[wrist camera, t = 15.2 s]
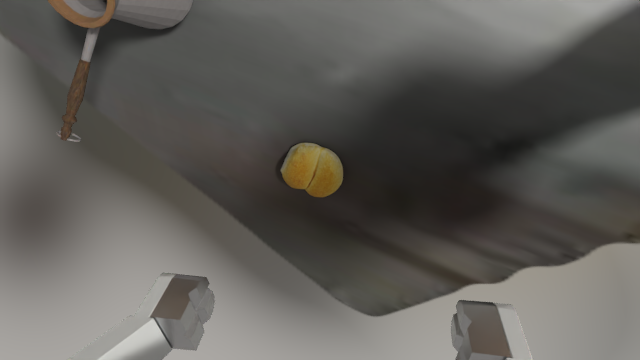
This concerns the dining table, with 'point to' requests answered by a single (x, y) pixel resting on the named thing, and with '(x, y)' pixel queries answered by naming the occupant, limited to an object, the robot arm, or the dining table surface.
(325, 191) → the bread roll
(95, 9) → the coffee pot
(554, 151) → the dining table surface
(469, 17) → the dining table surface
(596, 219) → the dining table surface
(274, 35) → the dining table surface
